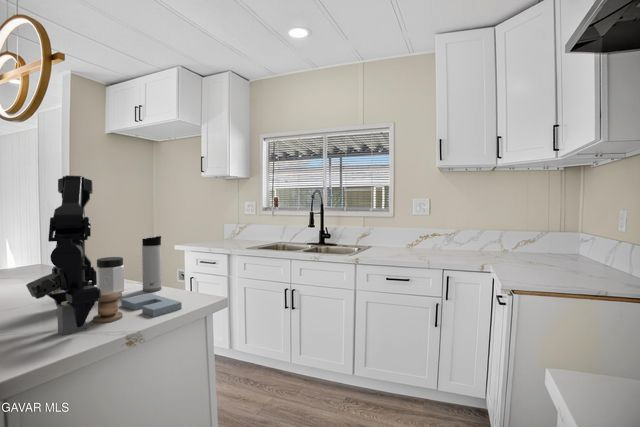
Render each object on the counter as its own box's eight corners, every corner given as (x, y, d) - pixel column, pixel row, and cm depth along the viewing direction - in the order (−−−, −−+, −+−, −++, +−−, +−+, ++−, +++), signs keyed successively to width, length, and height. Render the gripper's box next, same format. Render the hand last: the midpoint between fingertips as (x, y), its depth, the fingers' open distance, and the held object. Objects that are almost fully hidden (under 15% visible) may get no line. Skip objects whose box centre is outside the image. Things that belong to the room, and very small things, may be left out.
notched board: (121, 305, 108) (121, 299, 108) (149, 298, 115) (149, 292, 115) (153, 316, 98) (153, 309, 98) (181, 308, 105) (181, 302, 105)
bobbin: (88, 319, 95) (88, 295, 95) (115, 312, 101) (114, 290, 101) (100, 324, 91) (100, 300, 91) (127, 317, 97) (127, 294, 97)
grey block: (57, 332, 86) (57, 302, 86) (80, 326, 90) (80, 297, 90) (62, 335, 84) (62, 304, 84) (85, 329, 88) (85, 299, 88)
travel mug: (154, 292, 123) (154, 237, 122) (138, 291, 124) (138, 236, 123) (166, 288, 129) (165, 235, 128) (150, 287, 130) (150, 234, 130)
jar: (91, 295, 119) (91, 261, 118) (101, 289, 127) (100, 257, 126) (120, 294, 121) (119, 260, 120) (127, 288, 129) (127, 256, 128)
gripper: (16, 262, 85) (18, 324, 86) (45, 272, 75) (47, 342, 75) (69, 256, 94) (70, 312, 95) (101, 264, 84) (102, 327, 84)
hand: (71, 323), depth 87 cm, fingers open, 9 cm apart
